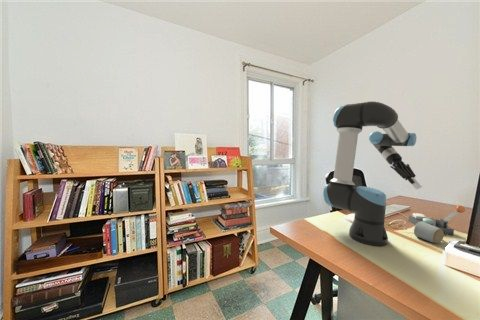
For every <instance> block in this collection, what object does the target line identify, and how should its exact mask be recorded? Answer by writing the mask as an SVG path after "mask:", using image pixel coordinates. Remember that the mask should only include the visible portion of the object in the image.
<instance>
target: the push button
mask: <svg viewBox="0 0 480 320" xmlns="http://www.w3.org/2000/svg"><path fill="white" fill-rule="evenodd" d="M433 221H434V220H432V219H428V218H423V222H425V223H427V224H430V225H433Z"/></svg>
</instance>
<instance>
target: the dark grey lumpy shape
mask: <svg viewBox="0 0 480 320" xmlns="http://www.w3.org/2000/svg"><path fill="white" fill-rule="evenodd" d="M425 217H426V218H428V219H432V220H434V221H433V225H432V226H435V227H438V228H440V229H441V230H443V232H444V235H446V234H448V235H449V236H454V234H455V229H454V228H452V227H450V226H449V224H448V223H449V220H448V221H447V222H446V223H445V224H444V221H442V220H443V219H444V218H440V219H437V218H436V219H435V218H433V217H429V216H425ZM420 221H422V222H423V219H418V218H415V217H414V216H413V215H408V222H410V223H411V224H413V225H415V226H416V224H417V223H418V222H420Z"/></svg>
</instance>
